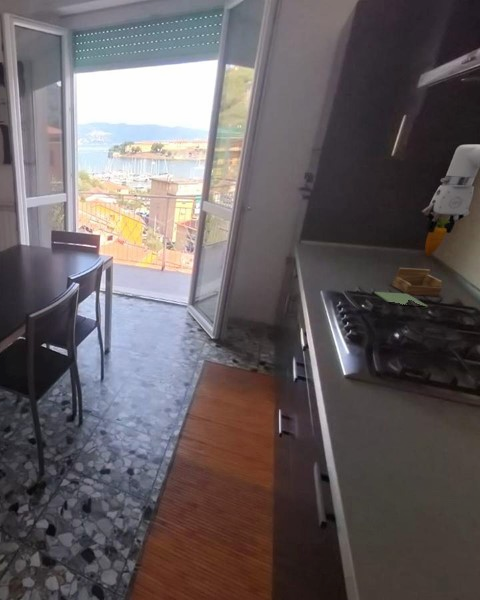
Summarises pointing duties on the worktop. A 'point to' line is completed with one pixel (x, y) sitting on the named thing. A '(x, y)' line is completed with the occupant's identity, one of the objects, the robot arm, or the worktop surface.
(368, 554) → the worktop surface
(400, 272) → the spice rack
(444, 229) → the carrot
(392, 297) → the mat
